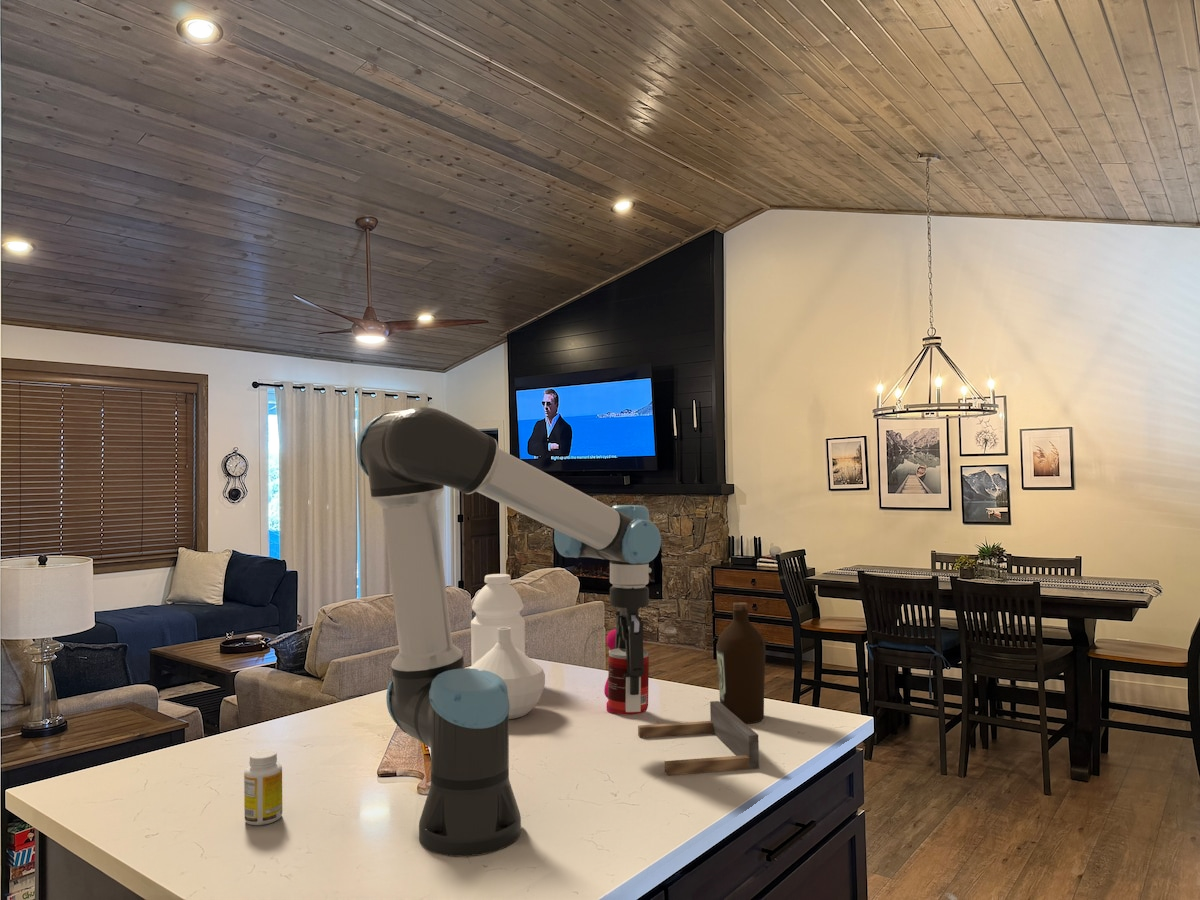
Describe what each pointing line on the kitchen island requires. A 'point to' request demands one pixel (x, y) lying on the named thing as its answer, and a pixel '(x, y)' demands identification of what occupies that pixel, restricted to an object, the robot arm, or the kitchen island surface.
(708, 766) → the guide lane
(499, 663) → the vase
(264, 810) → the supplement bottle
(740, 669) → the olive oil
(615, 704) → the canned food
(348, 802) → the kitchen island surface
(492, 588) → the bottle
